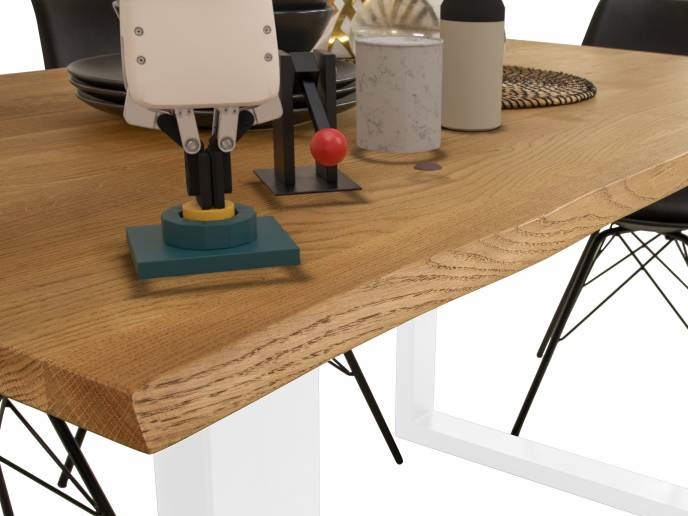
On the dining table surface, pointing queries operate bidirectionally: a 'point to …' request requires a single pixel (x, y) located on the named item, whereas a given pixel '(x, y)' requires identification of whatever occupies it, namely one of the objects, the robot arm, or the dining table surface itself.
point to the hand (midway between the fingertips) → (210, 204)
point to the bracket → (284, 172)
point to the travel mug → (472, 63)
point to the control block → (209, 244)
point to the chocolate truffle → (427, 166)
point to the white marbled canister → (398, 93)
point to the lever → (317, 111)
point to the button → (207, 211)
